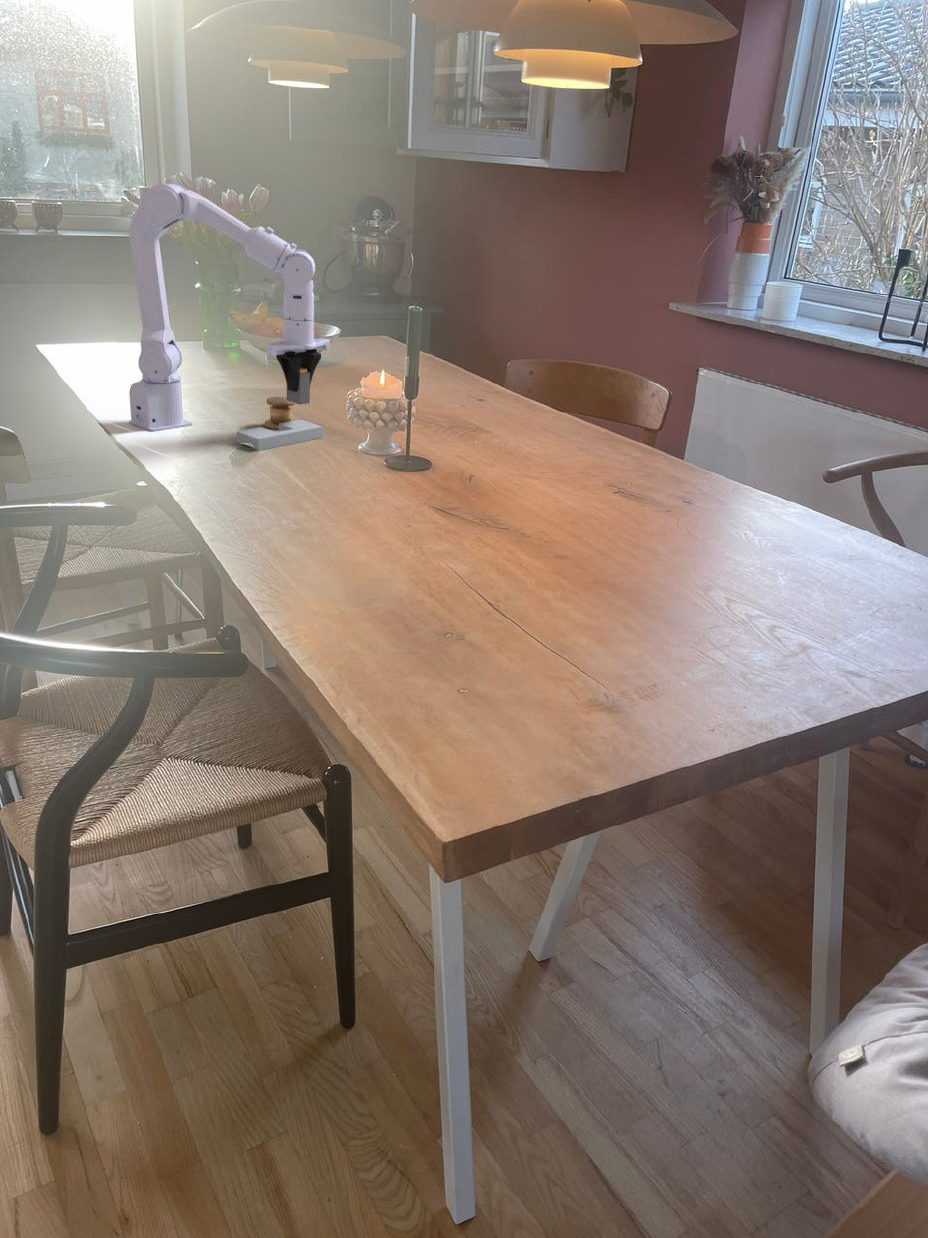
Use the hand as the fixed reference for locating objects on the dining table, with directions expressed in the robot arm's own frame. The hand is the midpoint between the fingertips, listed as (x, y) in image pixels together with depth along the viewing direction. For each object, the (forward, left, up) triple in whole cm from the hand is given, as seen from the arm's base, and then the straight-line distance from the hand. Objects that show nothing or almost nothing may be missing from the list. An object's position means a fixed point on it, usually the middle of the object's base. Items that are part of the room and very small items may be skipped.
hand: (298, 389), depth 187 cm
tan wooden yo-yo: (0, +6, -8) cm, 10 cm away
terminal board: (-7, -2, -8) cm, 11 cm away
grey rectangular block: (0, 0, -2) cm, 2 cm away
